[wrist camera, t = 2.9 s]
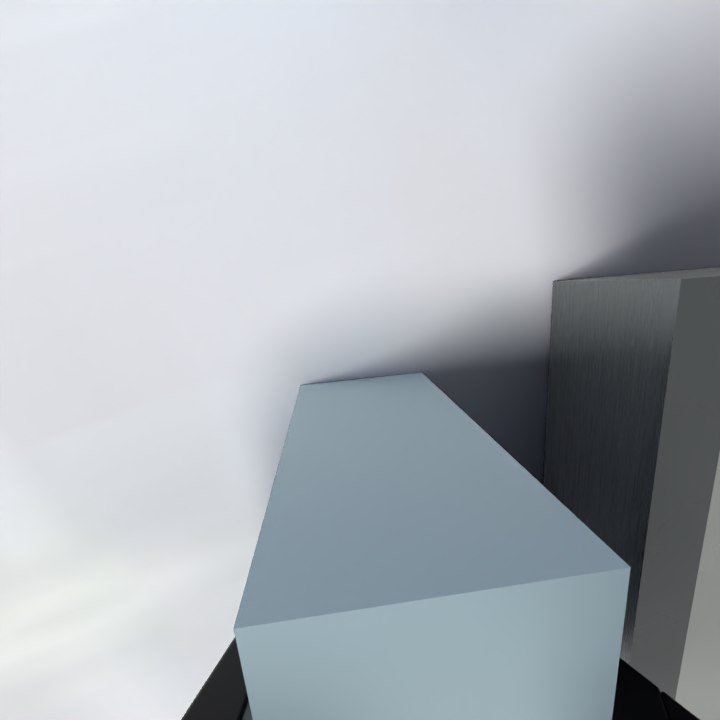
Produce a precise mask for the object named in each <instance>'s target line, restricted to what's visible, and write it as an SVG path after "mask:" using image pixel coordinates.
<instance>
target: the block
mask: <svg viewBox="0 0 720 720" xmlns="http://www.w3.org/2000/svg"><path fill="white" fill-rule="evenodd" d="M630 569H631V567H630V566H629V565H628V564H627V563H626V562H624V561H623V560H622V559H621V558H620V557H619V556H618V555H617V554H616V553H615V552H614V551H613V550H612V549H611V548H609V547H608V546H607V545H606V544H605V543H604V542H603V541H602V540H601V539H600V538H599V537H598V536H597V535H596V534H594V533H593V532H592V531H591V530H590V529H589V528H588V527H587V526H586V525H585V524H584V523H583V522H582V521H581V520H579V519H578V518H577V517H576V516H575V515H574V514H573V513H572V512H571V511H570V510H569V509H568V508H567V507H566V506H564V505H563V504H562V503H561V502H560V501H559V500H558V499H557V498H556V497H555V496H554V495H553V494H552V493H550V492H549V491H548V490H547V489H546V488H545V487H544V486H543V485H542V484H541V483H540V482H539V481H538V480H537V479H535V478H534V477H533V476H532V475H531V474H530V473H529V472H528V471H527V470H526V469H525V468H524V467H523V466H522V465H520V464H519V463H518V462H517V461H516V460H515V459H514V458H513V457H512V456H511V455H510V454H509V453H508V452H507V451H505V450H504V449H503V448H502V447H501V446H500V445H499V444H498V443H497V442H496V441H495V440H494V439H493V438H492V437H490V436H489V435H488V434H487V433H486V432H485V431H484V430H483V429H482V428H481V427H480V426H479V425H478V424H477V423H475V422H474V421H473V420H472V419H471V418H470V417H469V416H468V415H467V414H466V413H465V412H464V411H463V410H462V409H460V408H459V407H458V406H457V405H456V404H455V403H454V402H453V401H452V400H451V399H450V398H449V397H448V396H446V395H445V394H444V393H443V392H442V391H441V390H440V389H439V388H438V387H437V386H436V385H435V384H434V383H433V382H431V381H430V380H429V379H428V378H427V377H426V376H425V375H424V374H423V373H412V374H403V375H393V376H383V377H374V378H364V379H355V380H345V381H335V382H326V383H316V384H306V385H300V389H299V393H298V396H297V400H296V404H295V407H294V411H293V415H292V418H291V422H290V425H289V429H288V433H287V436H286V440H285V444H284V447H283V451H282V455H281V458H280V462H279V466H278V469H277V473H276V476H275V480H274V484H273V487H272V491H271V495H270V498H269V502H268V506H267V509H266V513H265V516H264V520H263V524H262V527H261V531H260V535H259V538H258V542H257V546H256V549H255V553H254V557H253V560H252V564H251V567H250V571H249V575H248V578H247V582H246V586H245V589H244V593H243V597H242V600H241V604H240V607H239V611H238V615H237V618H236V622H235V626H234V633H235V638H236V642H237V647H238V652H239V657H240V661H241V666H242V671H243V676H244V680H245V685H246V690H247V695H248V699H249V704H250V709H251V714H252V718H253V720H612V715H613V707H614V699H615V691H616V683H617V674H618V666H619V658H620V650H621V642H622V634H623V626H624V618H625V610H626V602H627V594H628V586H629V577H630Z"/></svg>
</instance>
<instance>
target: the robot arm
mask: <svg viewBox="0 0 720 720" xmlns="http://www.w3.org/2000/svg"><path fill="white" fill-rule="evenodd" d="M181 720H253V718H252V714H251V709H250V704H249V699H248V695H247V690H246V685H245V680H244V676H243V671H242V666H241V661H240V657H239V652H238V647H237V642H236V638H234V639H233V641H232V642H231V644H230V646H229V647H228V649H227V650H226V652H225V653H224V655H223V656H222V658H221V659H220V661H219V662H218V664H217V666H216V667H215V669H214V670H213V672H212V673H211V675H210V676H209V678H208V679H207V681H206V682H205V684H204V685H203V687H202V689H201V690H200V692H199V693H198V695H197V696H196V698H195V699H194V701H193V702H192V704H191V705H190V707H189V709H188V710H187V712H186V713H185V715H184V716H183V718H182V719H181ZM612 720H700V719H699V718H697V717H696V716H695V715H693V714H692V713H691V712H690V711H688V710H687V709H686V708H684V707H683V706H682V705H681V704H679V703H678V702H677V701H675V700H674V699H673V698H672V697H670V696H669V695H668V694H666V693H665V692H663V691H662V692H660V689H659V688H658V687H657V686H656V685H655V684H653V683H652V682H651V681H650V680H648V679H647V678H646V677H644V676H643V675H642V674H641V673H639V672H638V671H637V670H635V669H634V668H633V667H632V666H630V665H629V664H628V663H627V662H625V661H624V660H623V659H621V658H619V666H618V674H617V683H616V691H615V699H614V707H613V715H612Z"/></svg>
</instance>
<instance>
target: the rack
mask: <svg viewBox="0 0 720 720" xmlns="http://www.w3.org/2000/svg"><path fill="white" fill-rule="evenodd" d="M543 486H544V487H545V488H546V489H547V490H548V491H549V492H550V493H552V494H553V495H554V496H555V497H556V498H557V499H558V500H559V501H560V502H561V503H562V504H563V505H564V506H566V507H567V508H568V509H569V510H570V511H571V512H572V513H573V514H574V515H575V516H576V517H577V518H578V519H579V520H581V521H582V522H583V523H584V524H585V525H586V526H587V527H588V528H589V529H590V530H591V531H592V532H593V533H594V534H596V535H597V536H598V537H599V538H600V539H601V540H602V541H603V542H604V543H605V544H606V545H607V546H608V547H609V548H611V549H612V550H613V551H614V552H615V553H616V554H617V555H618V556H619V557H620V558H621V559H622V560H623V561H624V562H626V563H627V564H628V565H629V566H630V567H631V569H630V577H629V586H628V594H627V602H626V610H625V618H624V626H623V634H622V642H621V650H620V658H621V659H623V660H624V661H625V662H627V663H628V664H629V665H630V666H632V667H633V668H634V669H635V670H637V671H638V672H639V673H641V674H642V675H643V676H644V677H646V678H647V679H648V680H650V681H651V682H652V683H653V684H655V685H656V686H657V687H658V688H659V689H660V692H662V691H663V692H665V693H666V694H668V695H669V696H670V697H672V698H673V699H674V700H675V701H677V702H678V703H679V704H681V705H682V706H683V707H684V708H686V709H687V710H688V711H690V712H691V713H692V714H693V715H695V716H696V717H697V718H699V719H700V720H720V267H713V268H701V269H689V270H678V271H666V272H655V273H643V274H631V275H620V276H608V277H597V278H585V279H574V280H562V281H553V297H552V317H551V338H550V358H549V378H548V398H547V418H546V439H545V459H544V479H543Z"/></svg>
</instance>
